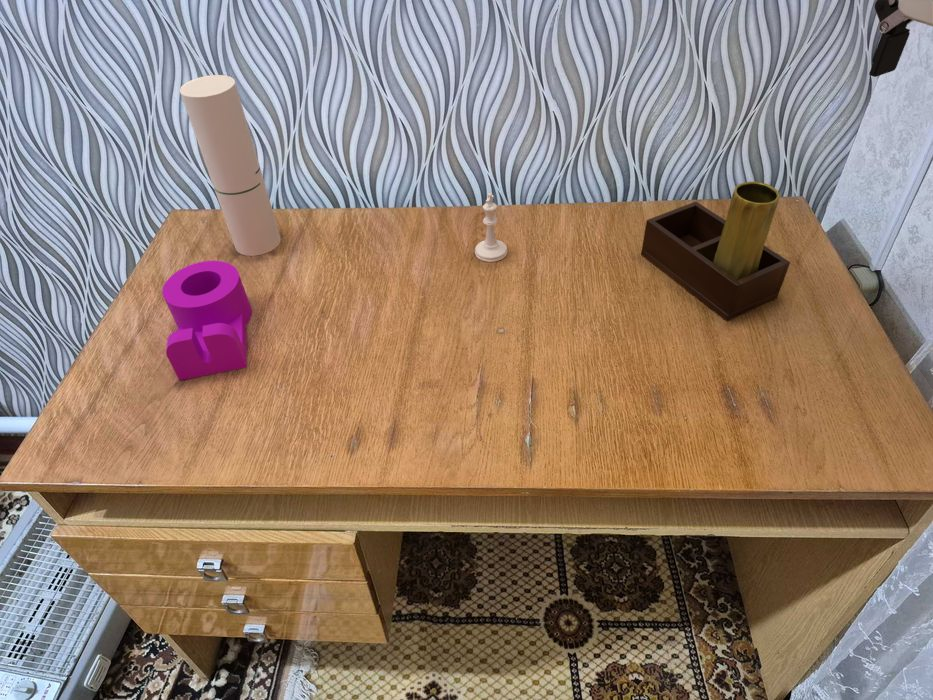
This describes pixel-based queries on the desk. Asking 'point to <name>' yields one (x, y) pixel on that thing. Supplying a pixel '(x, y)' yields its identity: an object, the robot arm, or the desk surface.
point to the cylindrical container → (231, 162)
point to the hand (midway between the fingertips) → (925, 89)
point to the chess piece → (490, 236)
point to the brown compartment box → (708, 261)
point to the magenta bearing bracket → (207, 319)
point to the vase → (746, 228)
